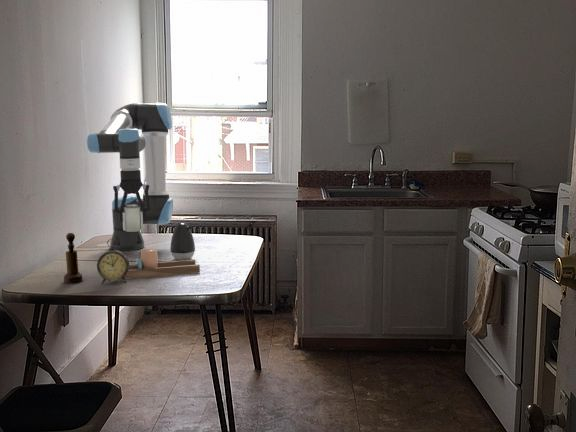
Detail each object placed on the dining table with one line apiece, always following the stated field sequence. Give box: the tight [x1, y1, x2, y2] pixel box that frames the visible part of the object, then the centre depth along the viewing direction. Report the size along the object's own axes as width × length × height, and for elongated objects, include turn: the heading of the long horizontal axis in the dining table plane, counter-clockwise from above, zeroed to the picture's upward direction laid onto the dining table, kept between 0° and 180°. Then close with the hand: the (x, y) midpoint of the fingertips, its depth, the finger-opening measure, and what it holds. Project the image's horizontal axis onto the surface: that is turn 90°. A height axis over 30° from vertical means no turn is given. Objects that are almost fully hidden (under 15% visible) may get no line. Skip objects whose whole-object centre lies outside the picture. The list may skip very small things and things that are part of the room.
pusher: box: [129, 257, 142, 269], centre depth 258 cm, size 7×7×5 cm
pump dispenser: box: [169, 222, 196, 261], centre depth 284 cm, size 10×10×15 cm
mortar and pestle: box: [63, 232, 84, 284], centre depth 249 cm, size 7×6×18 cm
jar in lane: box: [140, 248, 159, 269], centre depth 260 cm, size 6×6×9 cm
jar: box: [124, 205, 142, 232], centre depth 265 cm, size 6×6×10 cm
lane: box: [124, 259, 201, 280], centre depth 262 cm, size 10×29×3 cm, turn 108°
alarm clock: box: [96, 238, 130, 285], centre depth 247 cm, size 11×5×16 cm, turn 95°
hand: (133, 229), depth 266 cm, fingers closed on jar, 6 cm apart
